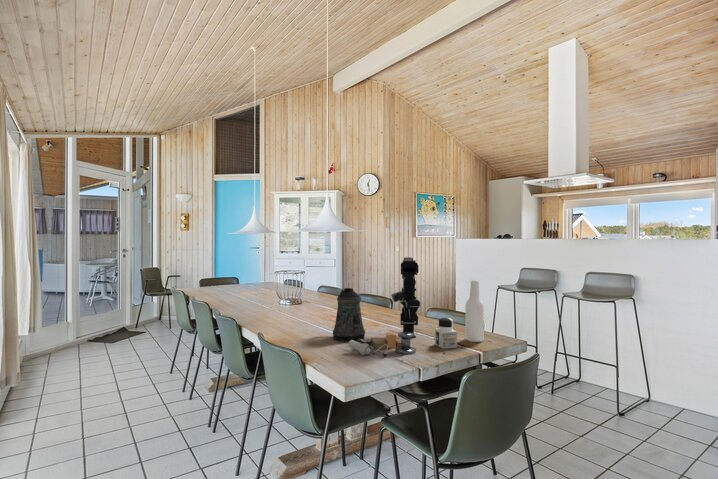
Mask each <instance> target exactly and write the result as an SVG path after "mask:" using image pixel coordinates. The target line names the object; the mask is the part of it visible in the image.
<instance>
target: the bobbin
mask: <svg viewBox="0 0 718 479" xmlns="http://www.w3.org/2000/svg"><path fill="white" fill-rule="evenodd" d="M414 335H415V332H414V333H411V332H403V331H400V332H398V333H397V337H401V347H397V346H396V348H395V353H397V354H401V355H413V354H416V352H417V349H416V348H415V347H412V346H411V337H414Z"/></svg>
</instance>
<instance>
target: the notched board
mask: <svg viewBox="0 0 718 479" xmlns="http://www.w3.org/2000/svg"><path fill="white" fill-rule="evenodd" d="M370 340H371V341H373V343H372V347H373V349H376V350H378V349H379V348H380V347H381V346H383V345H384V344H386V336H382V337H381V336H377V337H371V338H370ZM397 347H401V337H399V336H396V348H397ZM381 349H387V346H386V345H384V346H383V347H382V348H380V349H379V350H381Z"/></svg>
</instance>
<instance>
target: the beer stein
mask: <svg viewBox="0 0 718 479" xmlns="http://www.w3.org/2000/svg"><path fill="white" fill-rule="evenodd" d="M336 300H337V311H336V317H335V324H334V326H333V329H332V335H333V340H335V341H337V342H342V343H349V341H351V340H354V341H356V340H357V339H358V338H360V339H363V340H365V335H366V329H365V327H364V324H363V319H362V312H361V311H362V310H361V301H362V297H361V296H360V295H359V294H358V293H357V292H356V291H354V289H353V288H350V287H349V288H348V287H346V288H344V290H341V291H340V293H339V295H338V296H337V297H336Z"/></svg>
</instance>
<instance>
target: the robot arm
mask: <svg viewBox="0 0 718 479" xmlns="http://www.w3.org/2000/svg"><path fill="white" fill-rule="evenodd" d="M419 270H420V269H419V264H418V262H416V260H415V259H414V258H413V257H404V258H403V260H402V262H401V263H400V274H401V279H402V287H401V290H400V291H397V292H395V293H391V298H392V301H393V302H394V303H396V302H399V303H400V304H401V305H402V308H401V313H400V326H402V332H411V333H414V337H411V338H412V339H413V338H417V336H416V335H415V326H418V325H419V316H418V314H417V312H418V310H419V308H420V307H421V301H420V300H418V299H417V297H416V292H417V288H416V282H417V281H416V276H418V274H419ZM411 338H410V339H411Z"/></svg>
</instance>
